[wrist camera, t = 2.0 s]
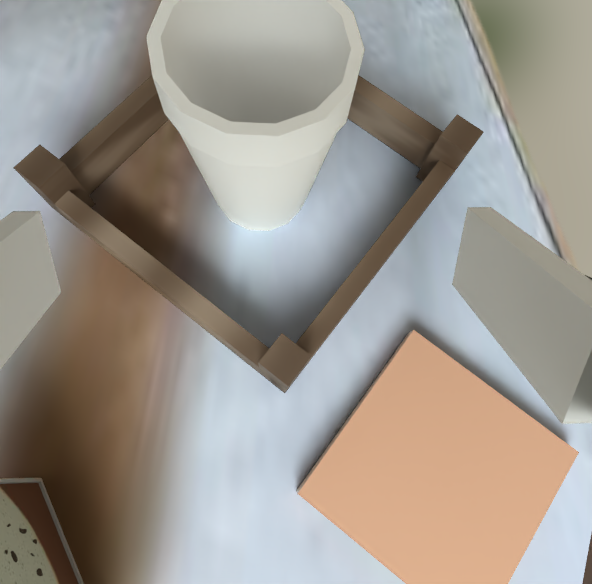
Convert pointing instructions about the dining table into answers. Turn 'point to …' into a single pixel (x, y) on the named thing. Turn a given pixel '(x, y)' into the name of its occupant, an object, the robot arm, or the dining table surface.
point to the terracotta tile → (438, 472)
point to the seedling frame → (267, 361)
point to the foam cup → (256, 95)
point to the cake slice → (32, 537)
